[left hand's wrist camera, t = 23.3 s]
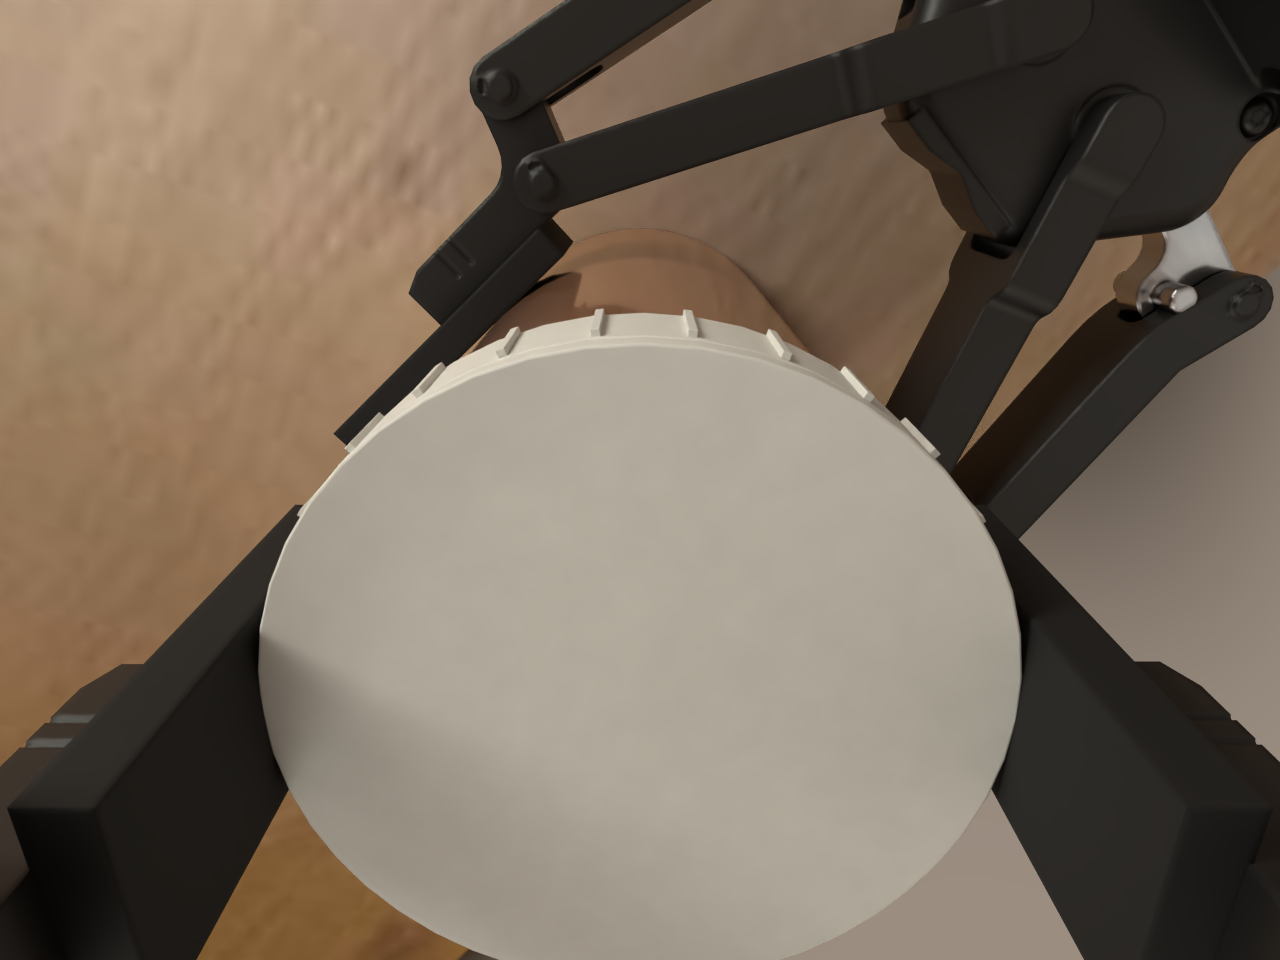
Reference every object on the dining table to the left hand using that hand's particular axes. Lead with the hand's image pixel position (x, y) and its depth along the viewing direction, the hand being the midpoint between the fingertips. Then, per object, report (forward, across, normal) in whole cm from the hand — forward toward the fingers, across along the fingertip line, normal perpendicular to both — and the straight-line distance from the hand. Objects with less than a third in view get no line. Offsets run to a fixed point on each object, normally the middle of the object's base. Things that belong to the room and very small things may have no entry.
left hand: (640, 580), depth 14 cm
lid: (-3, 0, 0) cm, 3 cm away
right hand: (+7, -3, -3) cm, 8 cm away
